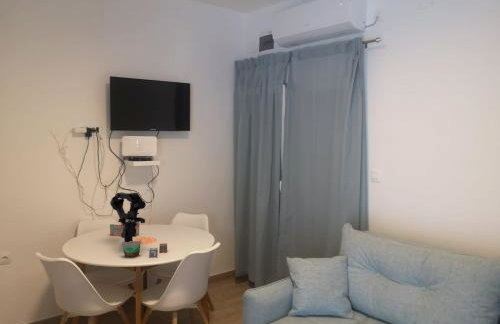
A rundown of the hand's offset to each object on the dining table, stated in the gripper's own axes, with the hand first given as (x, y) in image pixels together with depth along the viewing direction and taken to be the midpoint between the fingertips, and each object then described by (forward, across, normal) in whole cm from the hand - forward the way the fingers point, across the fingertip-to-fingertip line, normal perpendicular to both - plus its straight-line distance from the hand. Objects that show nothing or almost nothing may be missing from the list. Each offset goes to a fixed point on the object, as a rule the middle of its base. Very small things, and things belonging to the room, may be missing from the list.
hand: (129, 233), depth 250 cm
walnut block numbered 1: (+10, +18, +16) cm, 26 cm away
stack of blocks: (-5, -32, +31) cm, 45 cm away
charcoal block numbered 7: (+14, +18, +7) cm, 24 cm away
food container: (+16, +6, 0) cm, 17 cm away
